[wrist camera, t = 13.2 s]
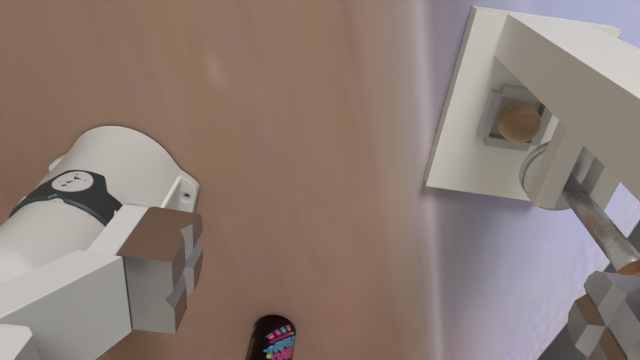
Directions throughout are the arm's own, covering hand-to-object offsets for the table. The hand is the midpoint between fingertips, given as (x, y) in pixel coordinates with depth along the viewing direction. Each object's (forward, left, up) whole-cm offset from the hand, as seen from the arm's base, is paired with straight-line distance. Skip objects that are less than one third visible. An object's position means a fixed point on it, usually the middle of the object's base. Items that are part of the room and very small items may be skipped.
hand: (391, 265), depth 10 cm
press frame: (-10, -18, -41) cm, 46 cm away
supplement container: (-50, +5, -41) cm, 65 cm away
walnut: (-10, -18, -37) cm, 42 cm away
